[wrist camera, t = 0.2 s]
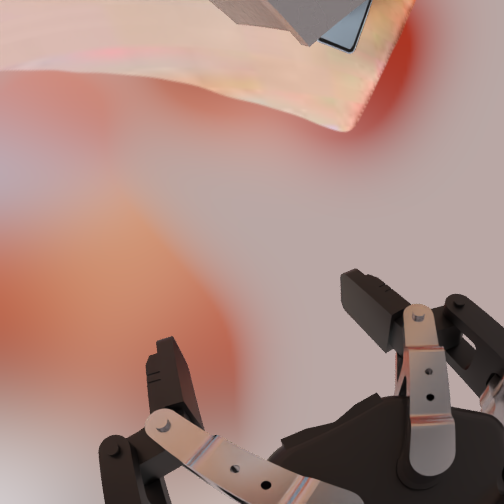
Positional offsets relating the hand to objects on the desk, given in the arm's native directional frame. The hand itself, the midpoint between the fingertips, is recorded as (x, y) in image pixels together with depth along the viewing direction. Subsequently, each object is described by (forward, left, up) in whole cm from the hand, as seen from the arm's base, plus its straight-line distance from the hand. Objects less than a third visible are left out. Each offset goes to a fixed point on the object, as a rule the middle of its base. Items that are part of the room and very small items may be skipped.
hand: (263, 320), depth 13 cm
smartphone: (+8, +28, -32) cm, 43 cm away
